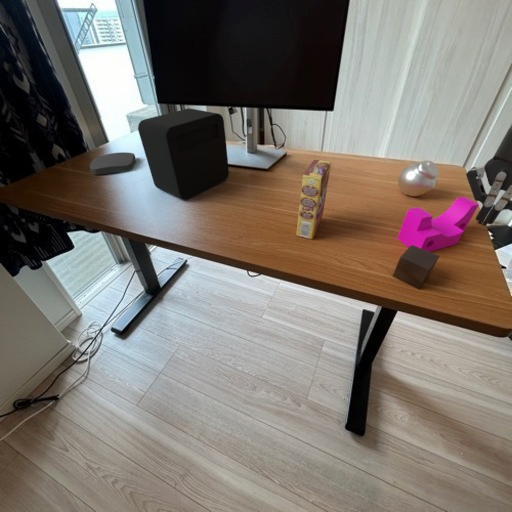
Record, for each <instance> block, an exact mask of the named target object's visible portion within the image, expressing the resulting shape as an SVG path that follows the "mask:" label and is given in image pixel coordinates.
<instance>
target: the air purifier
mask: <svg viewBox="0 0 512 512" xmlns="http://www.w3.org/2000/svg"><path fill="white" fill-rule="evenodd" d="M137 125H138V126H137V129H138V135H139V138H140V141H141V144H142V148H143V152H144V154H145V159H146V161H147V165H148V168H149V172H150V174H151V178H152V181H153V184H154V186H155V188H157V189H158V190H161V191H163V192H165V193H167V194H170V195H172V196H174V197H176V198H179V199H180V200H183V201H188V200H190V199H192V198H195V197H196V196H198V195H200V194H203V193H204V192H207V191H208V190H210V189H212V188H214V187H217V186H218V185H220V184H222V183H224V182H226V181H227V180H228V178H229V177H230V176H229V175H230V168H229V158H228V149H227V139H226V129H225V128H226V127H225V120H224V117H223V115H222V114H220V113H217V112H212V111H207V110H200V109H195V108H185V109H181V110H176V111H172V112H168V113H165V114H161V115H157V116H153V117H148V118H145V119H142V120H141V121H139V123H138V124H137Z"/></svg>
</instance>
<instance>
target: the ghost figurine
mask: <svg viewBox="0 0 512 512" xmlns="http://www.w3.org/2000/svg"><path fill="white" fill-rule="evenodd" d="M439 173H440V172H439V169H438V166H437V165H436V163H434V161H433V160H427V159H426V160H422V161H419V162H415V163H412V164H409V165H407V166H406V167H404V168H403V169H402V171H400V173H399V175H398V178H397V184H398V185H397V186H398V188H399V190H400V192H402V193H403V194H405V195H406V196H410V197H419V196H422V195H424V194H426V193H427V192H429V191H433V190H434V189H435V187H436V186H437V185H436V184H437V182H438V176H439Z"/></svg>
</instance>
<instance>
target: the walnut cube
mask: <svg viewBox="0 0 512 512" xmlns="http://www.w3.org/2000/svg"><path fill="white" fill-rule="evenodd" d="M439 258H440V255H438V254H436V253H433V252H432V251H430V252H428V251H426V250H423V249H421V248H418V247H416V246H414V245H411V246H410V247H407V249H406V250H405V252H403V253H402V254H401V255H400V256H399V260H398V262H397V264H396V267H395V269H394V271H393V274H392V278H395V279H397V280H399V281H401V282H403V283H405V284H407V285H410V286H412V287H413V288H415V289H417V290H420V289H421V288H422V286H423V285H424V284H425V282H426V281H427V279H428V278H429V277H430V275H431V273H432V271H433V270H434V268H435V266H436V264H437V262H438V260H439Z"/></svg>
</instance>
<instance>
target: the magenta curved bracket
mask: <svg viewBox="0 0 512 512" xmlns="http://www.w3.org/2000/svg"><path fill="white" fill-rule="evenodd" d="M479 205H480V204H479V203H477V202H476V201H473V200H471V199H469V198H468V197H465V196H461V197H456V198H455V199H454V201H453V202H452V204H451V205H450V206H449V208H447V209H446V210H445V211H444V212H443V213H442V214H440V215H439V216H437V217H435V218H433V215H432V214H430V213H429V212H428V211H425V210H424V209H422V208H421V207H418V206H417V207H414V208H408V209H407V211H406V214H405V217H404V220H403V222H402V225H401V227H400V230H399V233H398V235H397V237H396V239H397V240H398V241H400V242H401V243H403V245H405V246H406V247H407V248H409V247H410V246H411V245H414V246H416V247H418V248H421V249H423V250H426V251H428V252H434V251H436V250H441V249H444V248H446V247H451V246H454V245H457V244H458V242H459V240H460V238H461V237H462V235H463V234H464V232H465V230H466V228H467V226H468V225H469V223H470V221H471V220H472V219H473V216H474V214H475V213H476V211H477V210H478V207H479Z"/></svg>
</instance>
